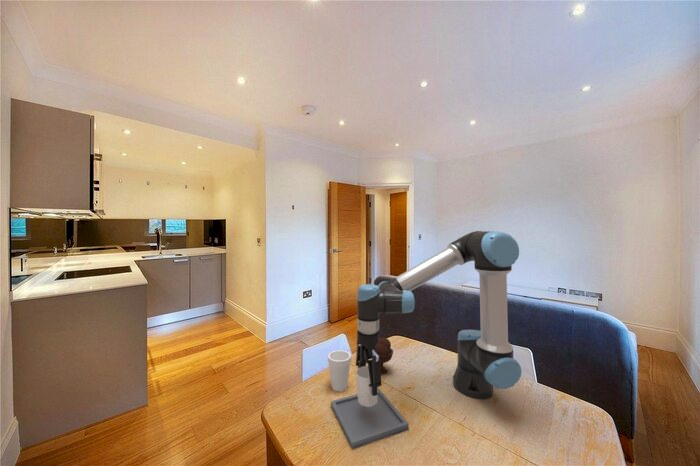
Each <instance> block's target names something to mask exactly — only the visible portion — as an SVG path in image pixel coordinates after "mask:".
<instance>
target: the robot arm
mask: <svg viewBox="0 0 700 466" xmlns="http://www.w3.org/2000/svg"><path fill="white" fill-rule="evenodd" d="M519 255H520V247H519V244H518V242H517V241H516V239H515V238H514V237H513V236H512V235H510V234H509V233H506V232H504V231H502V232H501V231H495V230H494V231H493V230H492V231H490V230H489V231H485V230H484V231H481V230H477V231H471V232H468V233H467V234H465V235H463V236H461V237H459V238H457V239H455V240H453V241H452V242H450V243H449V244H447V247H446V248H445V249H443V250H441V251H440V252H438V253H436V254H434V255H432V256H431V257H429V258H427V259H426V260H424V261H422V262H421V263H419V264H417V265H416V266H415V265H414V266H413V267H412V268H410V269H408V270H407V271H404V272H403V273H401V274H399V275H397V276H396V277H394V278H392V279H390V280H384V281H381V282H380V283H379V284H378V285H377V284H368V283H367V284H362V285H359V287H358V289H357V298H356V299H357V305H356V306H357V311H356V313H357V322H356V325H357V332H356V335H357V336H356V357H355V366H356V367H357V369H358V368H360V367H363V366H368V370H369V376H370V383H371V384H369V404H370V405H372V404H376V403H377V387H378V388H379V387H381V386H382V374H381V367H380V360H381V356H380V354H379V355H377V354H376V348H375V346H376V344H377V343H378V342H379V339H380V331H379V330H380V314H408V313H412V312H414V310H415V308H416V307H415V306H416V305H415V303H416V302H415V301H416V300H415V296H414V293H413V292H412V291H413V290H415V289H417V288H419V287H420V286H422V285H424V284H426V283H428V282H429V281H431V280H433V279H435V278H436V277H438V276H440V275H441V274H443V273H445V272H447V271H448V270H450V269H452V268H454V267H455V266H458V265H459V266H463V265H464V264H466V263H470V262H474V270H475V271H477V273H478V274H479V275H478V276H479V307H480V308H479V310H480V311H479V312H480V313H479V317H480V319H479V320H480V330H477V329H462V330H460V331H459V332H458V335H457V366H456V368H455V370H454V374H453V376H452V384H453V388H455V389H456V390H457V391H458V392H459V393H461V394H462V395H465V396H467V397H470V398H473V399H478V400H479V399H481V400H482V399H490V398H491V397H492V396H493V395H494V387H495V388H496V389H499V390H507V389H510V388H512V387H514V386H515V385H516V384H518V382H519V381H520V379H521V376H522V367H521V365H520V364H519V362H518V361H517V360H516V359H515V358H514V346H513V345H512V344H511V343H510V342H509V329H508V328H509V326H508V325H509V324H508V322H509V321H508V316H509V315H508V283H507V281H508V280H507V279H508V277H507V276H508V274H509V273H510V272H512V266H513V265H514V264H515V263H516V261H517V260H518V259H519Z"/></svg>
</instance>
